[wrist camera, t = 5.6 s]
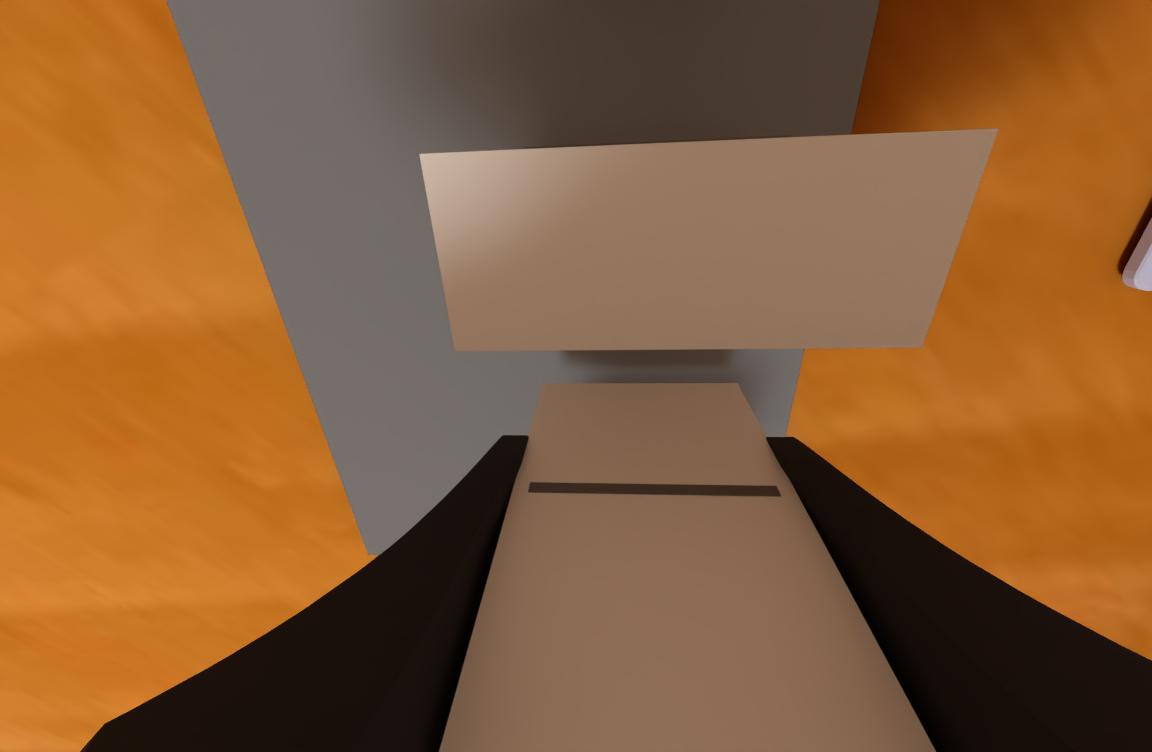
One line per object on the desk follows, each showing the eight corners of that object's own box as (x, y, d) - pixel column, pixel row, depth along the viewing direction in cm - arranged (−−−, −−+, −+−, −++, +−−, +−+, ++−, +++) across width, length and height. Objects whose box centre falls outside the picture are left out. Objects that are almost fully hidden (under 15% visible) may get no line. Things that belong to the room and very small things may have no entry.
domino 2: (542, 382, 12) (437, 752, 5) (737, 381, 11) (956, 785, 4) (547, 446, 13) (468, 835, 5) (727, 447, 12) (892, 867, 5)
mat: (1028, -782, 6) (1069, -871, 6) (752, 554, 18) (757, 566, 17) (-17, -580, 7) (-65, -636, 7) (375, 543, 19) (368, 554, 19)
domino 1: (539, 147, 11) (418, 151, 4) (743, 137, 11) (999, 124, 4) (546, 231, 12) (455, 354, 5) (733, 226, 12) (921, 350, 5)
